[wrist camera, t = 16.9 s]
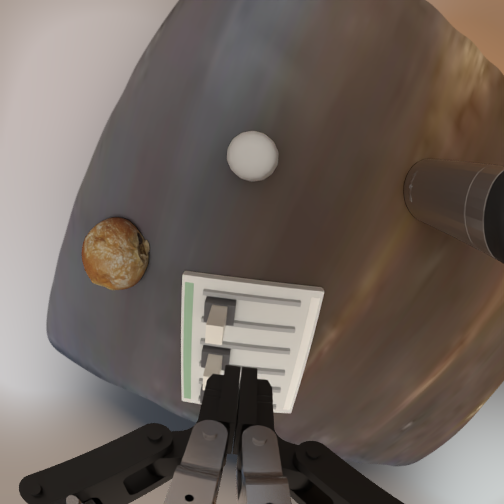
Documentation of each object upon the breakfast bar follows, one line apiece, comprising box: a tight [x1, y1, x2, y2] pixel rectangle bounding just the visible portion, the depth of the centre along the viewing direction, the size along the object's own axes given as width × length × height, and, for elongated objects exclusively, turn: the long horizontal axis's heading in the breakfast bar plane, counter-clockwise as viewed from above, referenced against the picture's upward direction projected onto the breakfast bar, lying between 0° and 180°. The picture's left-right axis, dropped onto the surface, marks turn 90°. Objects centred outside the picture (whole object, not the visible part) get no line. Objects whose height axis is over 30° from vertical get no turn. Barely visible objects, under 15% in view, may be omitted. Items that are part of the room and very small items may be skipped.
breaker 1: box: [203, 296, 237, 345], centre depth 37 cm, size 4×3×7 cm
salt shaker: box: [227, 131, 279, 182], centre depth 30 cm, size 6×6×13 cm
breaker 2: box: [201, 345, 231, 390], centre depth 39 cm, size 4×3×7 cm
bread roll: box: [82, 217, 150, 290], centre depth 38 cm, size 10×10×8 cm
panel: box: [181, 271, 324, 413], centre depth 43 cm, size 19×24×2 cm
